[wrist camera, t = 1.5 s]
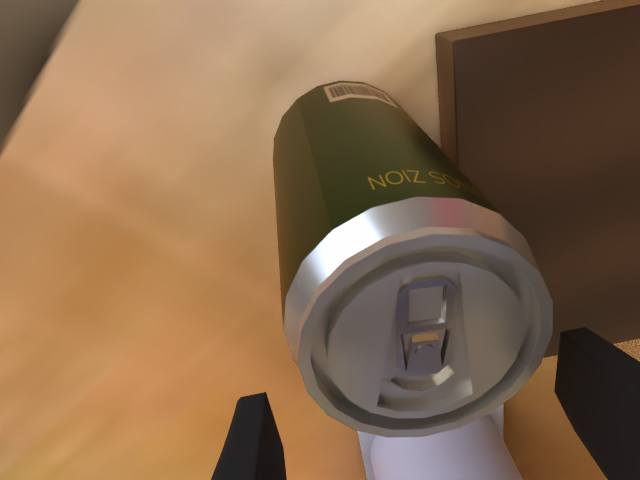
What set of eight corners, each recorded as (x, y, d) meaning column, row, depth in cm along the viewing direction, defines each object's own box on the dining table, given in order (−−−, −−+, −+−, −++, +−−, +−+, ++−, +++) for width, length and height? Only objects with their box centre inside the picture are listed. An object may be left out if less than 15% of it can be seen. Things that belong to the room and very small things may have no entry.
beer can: (264, 82, 19) (269, 238, 8) (408, 70, 19) (591, 205, 8) (279, 214, 21) (297, 460, 11) (406, 201, 22) (543, 428, 11)
